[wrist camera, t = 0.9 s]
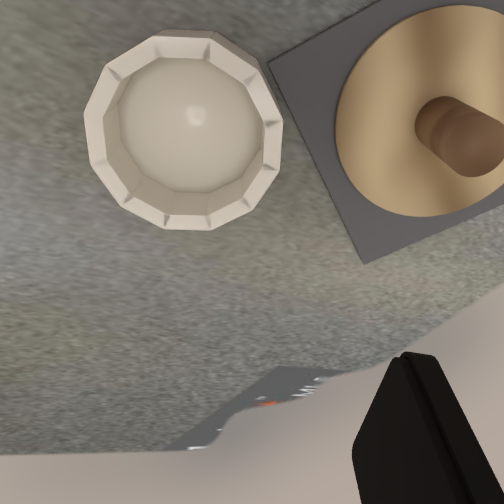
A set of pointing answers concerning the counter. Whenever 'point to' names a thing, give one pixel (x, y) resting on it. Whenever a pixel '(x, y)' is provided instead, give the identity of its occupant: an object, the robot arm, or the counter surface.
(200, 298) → the counter surface
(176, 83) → the bowl
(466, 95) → the lid
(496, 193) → the mat
